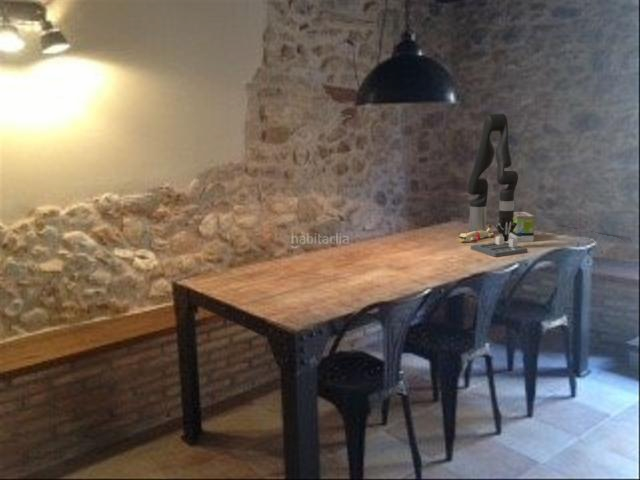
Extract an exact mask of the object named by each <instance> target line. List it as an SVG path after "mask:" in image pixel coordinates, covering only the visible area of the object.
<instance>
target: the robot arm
mask: <svg viewBox="0 0 640 480" xmlns="http://www.w3.org/2000/svg"><path fill="white" fill-rule="evenodd" d="M482 125H483V126H482V131H481V137H480V142H479V146H478V149H477V152H476V154H475V155H476V156H475V160H474V163H473V168H472V171H471V173H470V177H469V179H468V182H467V188H466V189H467V193H468V195H470V196H471V195H472V196H473V195H474V196H476V195H478V196H477V197H475V198H474V199H472V200H471V201H470V203H469V218H468V231H470V232H473V231H486V230H487V203H488V192H489V190H488V189H489V183H488V180H487V179H486V178H484V177H483V178H480V177H481V176H482V174H483V173H485V172H486V170H488V168H489V167H490V166H491V165H492V163H493V160H494V157H495V159H496V163H497V173H496V181H497V183H498V184H499V185H501V186H505V185H507V187H506V188H503V189H501V190H500V192H499V205H498V218H499V220H498V223H497V224H495V225H494V227H495V228H496V230H497V231H498V233H499V234H501V235H502V237H504V242H506V243H507V242H509V239H510V237H509V233H512V231H513V230H514V228H515V227H516V225H517V223H514V222H513V218H514V212H515V201H514V200H515V191H516V188H517V184H518V180H519V174H518V172H517V171H515V170H505V169H507V168H508V169H509V167H511V166H512V164H513V163H512V158H511V153H510V148H509V147H510V146H509V126H508V125H509V123H508V117H507V115H506V114H504V113H488V114H487V115H485V117H484V119H483V124H482ZM492 132H499V135H500V139H499V141H498V143H497V147H496V148H494V146H493V144H492V141H491V133H492Z"/></svg>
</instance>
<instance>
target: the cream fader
mask: <svg viewBox="0 0 640 480" xmlns="http://www.w3.org/2000/svg"><path fill="white" fill-rule="evenodd" d="M495 242H496V243H495V244H497V245H502V244H504V242H505V241H504V237H503V235H500V234H499V235H497V236H496V235H495Z"/></svg>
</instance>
